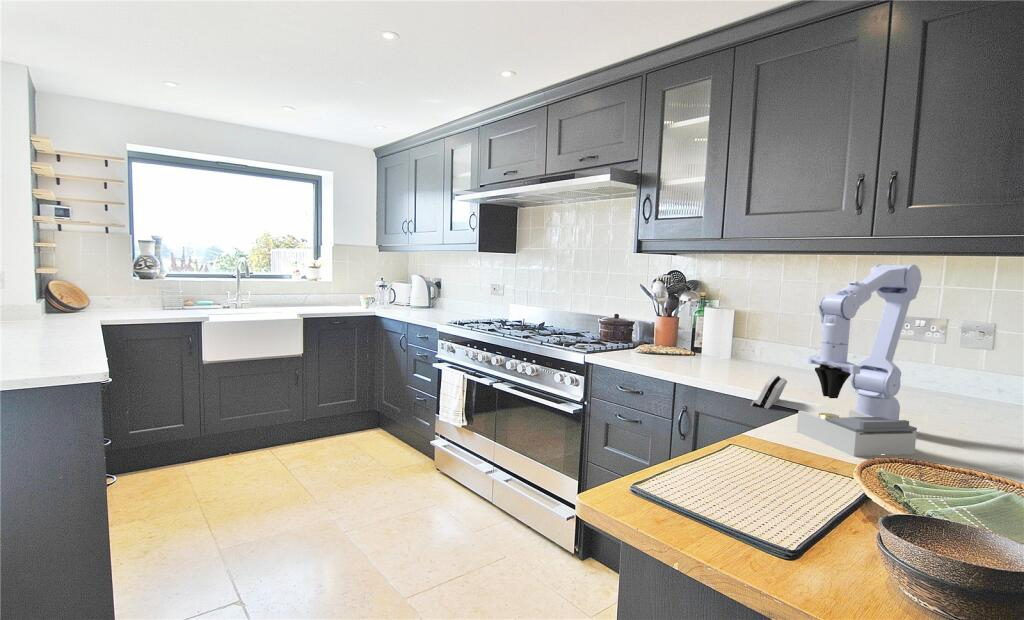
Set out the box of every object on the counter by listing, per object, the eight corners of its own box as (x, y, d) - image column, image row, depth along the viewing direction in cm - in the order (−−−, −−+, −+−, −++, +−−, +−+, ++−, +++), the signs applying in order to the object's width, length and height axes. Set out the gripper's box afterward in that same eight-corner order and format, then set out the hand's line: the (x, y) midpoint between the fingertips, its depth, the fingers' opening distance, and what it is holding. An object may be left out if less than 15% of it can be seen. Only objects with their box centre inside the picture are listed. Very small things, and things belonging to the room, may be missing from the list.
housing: (850, 430, 140) (852, 409, 139) (914, 454, 122) (916, 430, 122) (796, 432, 137) (798, 410, 136) (853, 456, 119) (855, 432, 119)
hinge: (762, 396, 177) (775, 369, 174) (776, 403, 174) (790, 376, 171) (750, 405, 163) (764, 376, 160) (765, 413, 161) (780, 384, 158)
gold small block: (831, 432, 137) (832, 413, 137) (841, 437, 133) (843, 417, 132) (814, 432, 137) (815, 412, 137) (824, 437, 133) (825, 417, 132)
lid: (882, 419, 131) (883, 410, 130) (916, 430, 122) (917, 421, 122) (825, 420, 128) (826, 411, 127) (855, 431, 119) (856, 422, 119)
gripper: (799, 338, 139) (795, 390, 140) (844, 347, 125) (839, 404, 126) (823, 339, 140) (819, 390, 141) (870, 347, 126) (864, 404, 127)
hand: (830, 397), depth 134 cm, fingers closed
